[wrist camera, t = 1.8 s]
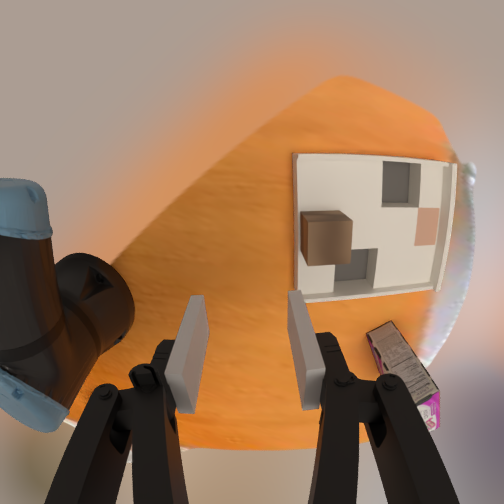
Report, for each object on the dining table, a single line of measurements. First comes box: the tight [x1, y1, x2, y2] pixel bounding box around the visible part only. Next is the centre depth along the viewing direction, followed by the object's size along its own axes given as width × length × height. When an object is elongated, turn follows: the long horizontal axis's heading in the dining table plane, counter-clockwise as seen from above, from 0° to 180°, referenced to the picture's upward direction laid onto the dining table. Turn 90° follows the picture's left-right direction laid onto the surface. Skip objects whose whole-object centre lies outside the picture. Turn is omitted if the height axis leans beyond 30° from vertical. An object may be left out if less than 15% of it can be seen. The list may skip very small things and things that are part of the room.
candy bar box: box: [366, 321, 440, 433], centre depth 34 cm, size 11×5×16 cm, turn 28°
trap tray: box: [292, 153, 457, 303], centre depth 32 cm, size 20×17×5 cm
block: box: [300, 210, 353, 266], centre depth 29 cm, size 4×4×4 cm
